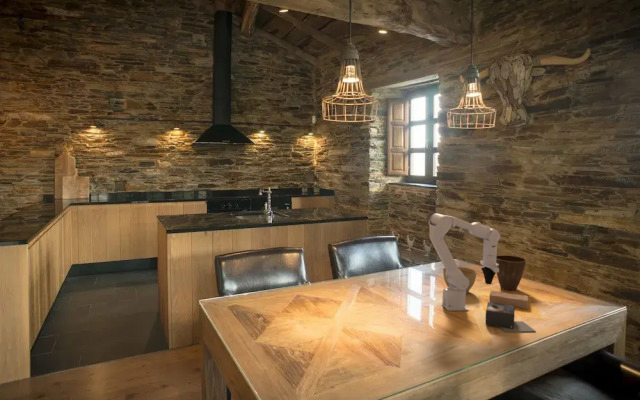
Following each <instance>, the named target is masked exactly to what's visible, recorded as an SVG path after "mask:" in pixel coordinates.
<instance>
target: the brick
mask: <svg viewBox="0 0 640 400" xmlns="http://www.w3.org/2000/svg"><path fill="white" fill-rule="evenodd" d="M489 302H490V303H496V304H503V305H510V306H514V308H515V309H516V308H518V309H526V310H528V309H529V306H530V304H529V302H530V301H529V296H528V295H521V294H515V293H513V294H510V293H508V292H502V291H498V290H494V289H493V290H490V292H489Z"/></svg>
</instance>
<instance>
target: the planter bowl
mask: <svg viewBox="0 0 640 400" xmlns="http://www.w3.org/2000/svg"><path fill="white" fill-rule="evenodd" d="M457 267H458V268H459V270H460V271H461V272H462V273H463V275H464V276H465V277H466V278H468V280H469V286H468V288H467V289H466V294H468V293H470V290H471V289H472V287H473V286H474V284H475V283H476V278H477V274H478V273H477V271H476V270H475V269H473V268H469V267H465V266H464V267H463V266H457ZM442 272H443V280H444V282H445V284H446V286H447V288H449V283H448V282H447V276H446V274H445V272H446V269H445V267H444V268H442Z"/></svg>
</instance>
